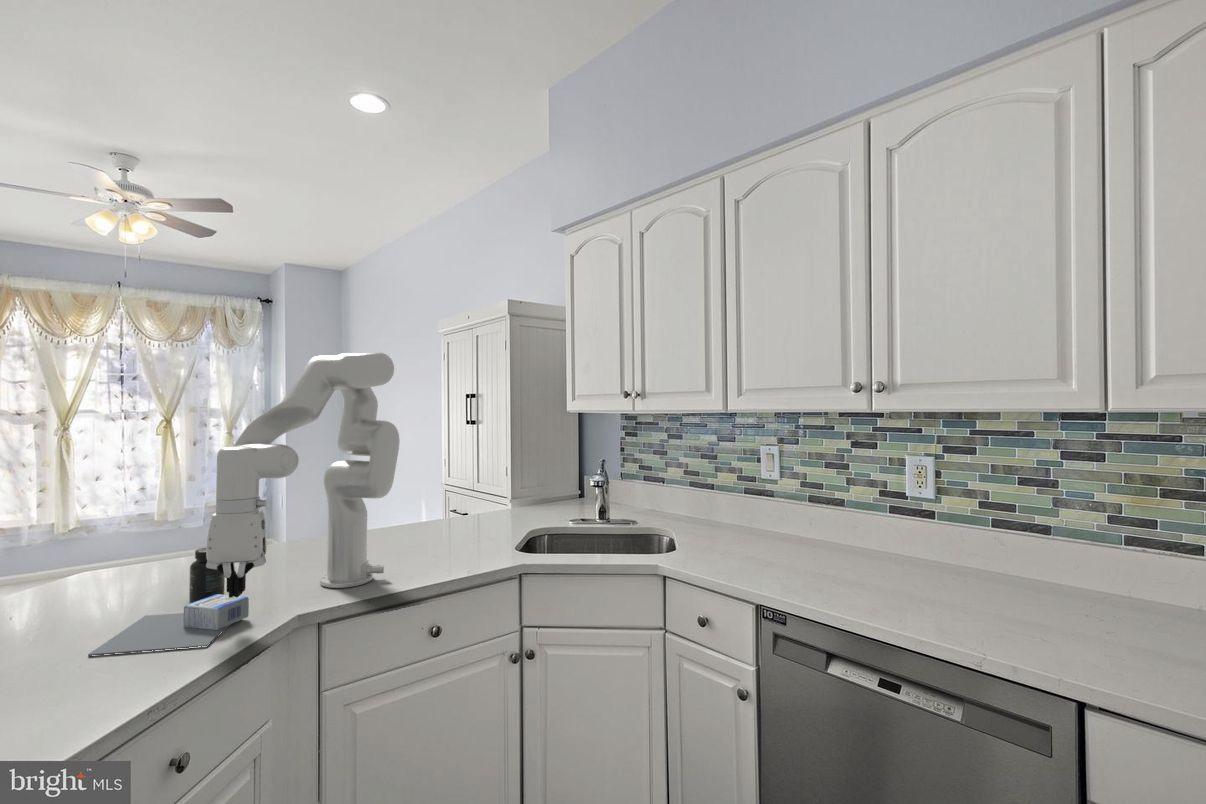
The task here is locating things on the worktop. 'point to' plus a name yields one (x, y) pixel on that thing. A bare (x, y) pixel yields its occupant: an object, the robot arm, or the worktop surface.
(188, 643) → the mat
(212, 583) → the supplement bottle
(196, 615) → the medicine box
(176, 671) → the worktop surface
